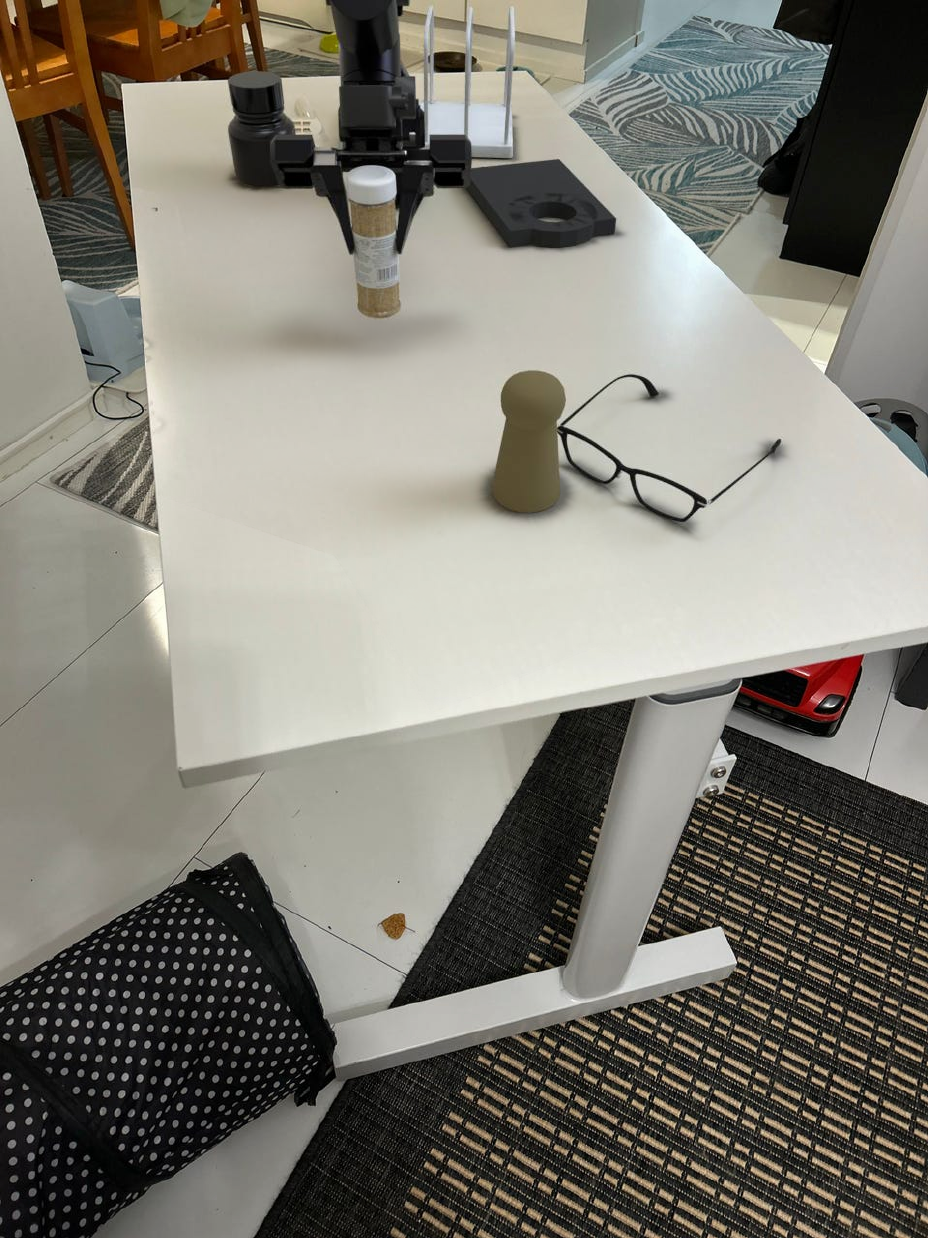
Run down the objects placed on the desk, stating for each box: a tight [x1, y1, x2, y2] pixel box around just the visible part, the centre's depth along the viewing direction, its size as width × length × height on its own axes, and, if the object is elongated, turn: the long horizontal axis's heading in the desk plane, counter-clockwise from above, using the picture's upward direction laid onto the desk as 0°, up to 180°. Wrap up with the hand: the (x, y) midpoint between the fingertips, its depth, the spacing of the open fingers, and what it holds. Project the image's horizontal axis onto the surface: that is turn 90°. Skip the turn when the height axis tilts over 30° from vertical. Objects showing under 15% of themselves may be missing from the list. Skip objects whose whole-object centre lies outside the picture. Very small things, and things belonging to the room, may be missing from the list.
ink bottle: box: [227, 70, 297, 188], centre depth 120 cm, size 10×9×12 cm
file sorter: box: [338, 4, 516, 159], centre depth 130 cm, size 25×17×16 cm
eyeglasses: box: [557, 373, 782, 523], centre depth 81 cm, size 16×16×4 cm
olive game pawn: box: [491, 369, 567, 514], centre depth 75 cm, size 6×6×11 cm
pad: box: [465, 158, 617, 248], centre depth 117 cm, size 22×14×2 cm, turn 17°
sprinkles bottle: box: [345, 165, 402, 319], centre depth 87 cm, size 5×5×13 cm
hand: (374, 252), depth 86 cm, fingers closed on sprinkles bottle, 4 cm apart
